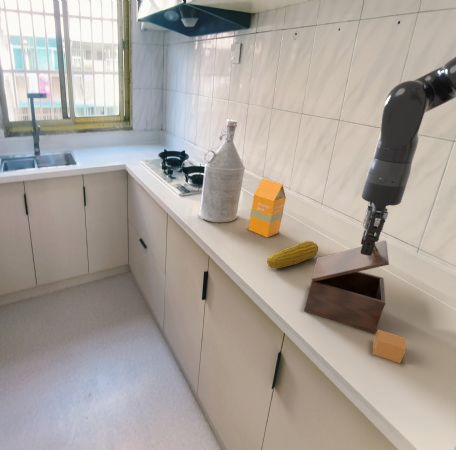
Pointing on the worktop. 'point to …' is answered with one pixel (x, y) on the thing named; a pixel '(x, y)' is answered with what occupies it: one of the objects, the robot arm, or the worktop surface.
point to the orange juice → (267, 208)
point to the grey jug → (222, 180)
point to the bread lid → (350, 262)
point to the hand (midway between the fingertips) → (365, 249)
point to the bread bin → (348, 299)
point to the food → (293, 255)
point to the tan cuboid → (389, 346)
